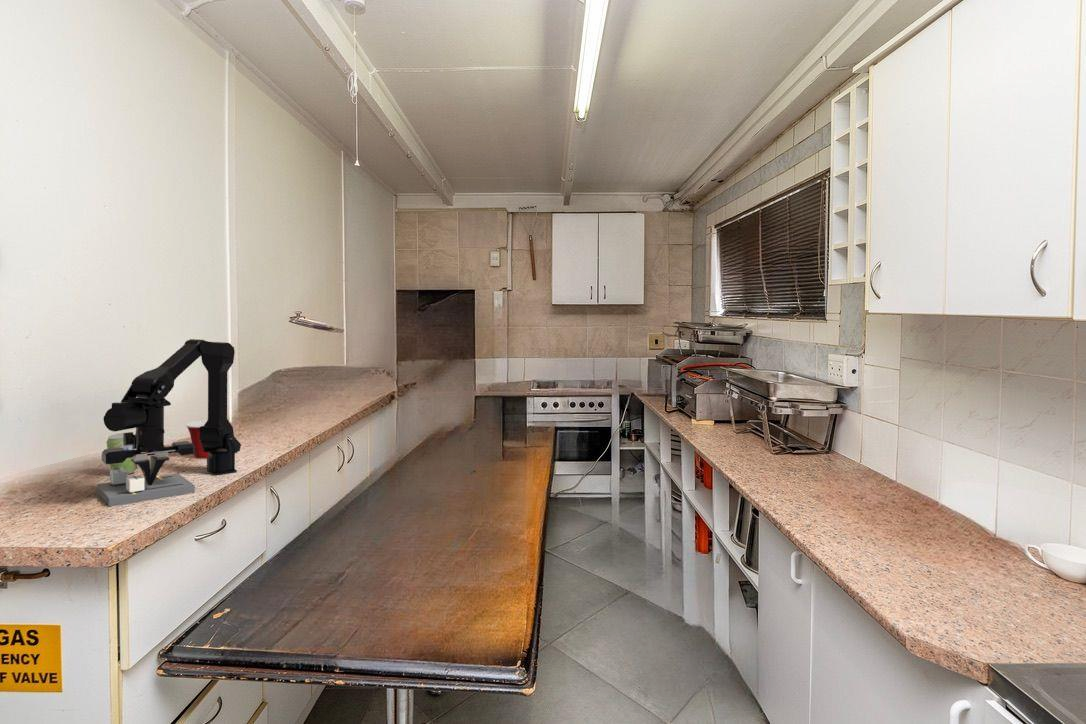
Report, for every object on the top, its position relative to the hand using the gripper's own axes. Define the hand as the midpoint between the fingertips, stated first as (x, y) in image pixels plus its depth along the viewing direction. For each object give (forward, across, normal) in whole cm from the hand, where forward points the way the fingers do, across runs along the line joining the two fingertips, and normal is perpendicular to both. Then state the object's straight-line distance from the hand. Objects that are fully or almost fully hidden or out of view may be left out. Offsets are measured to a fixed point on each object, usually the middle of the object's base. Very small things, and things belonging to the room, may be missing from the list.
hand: (149, 484), depth 139 cm
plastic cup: (+3, -23, -39) cm, 46 cm away
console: (+3, 0, -5) cm, 6 cm away
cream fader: (+1, +3, 0) cm, 3 cm away
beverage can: (+3, +1, -29) cm, 29 cm away
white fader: (+1, +5, -10) cm, 11 cm away
